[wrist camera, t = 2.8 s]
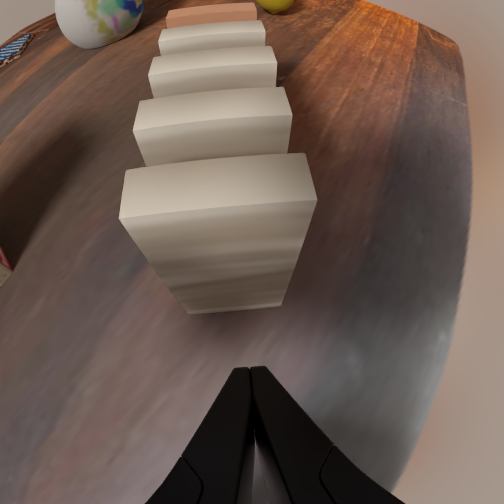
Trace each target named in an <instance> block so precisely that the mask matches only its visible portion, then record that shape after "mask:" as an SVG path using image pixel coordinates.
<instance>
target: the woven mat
mask: <svg viewBox="0 0 504 504" xmlns="http://www.w3.org/2000/svg"><path fill="white" fill-rule="evenodd" d="M31 38H33V35H31V33H30V34H26V35H25V36H24V37H22V38H21V37H20V38H19V39H18V40H16V41H13V43H12V44H8V45H7V46H6V47H3V48H2V49H1V50H0V65H1V66H0V67H2V66H3V65H5V64H7V63H8V62H10V61H12V60H14V59H16V58H17V57H19V56H20V55H19V54H21V52H22V51H24V50H23V49H25V47H26V45H27V44H28V43H29V42H30V40H32V39H31Z"/></svg>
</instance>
